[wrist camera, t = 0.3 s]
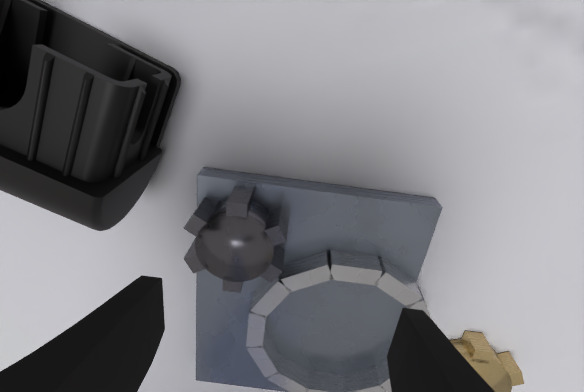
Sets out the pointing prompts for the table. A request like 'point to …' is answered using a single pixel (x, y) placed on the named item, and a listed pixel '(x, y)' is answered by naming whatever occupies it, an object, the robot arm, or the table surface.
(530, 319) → the table surface
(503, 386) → the planet gear
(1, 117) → the end cap
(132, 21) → the table surface
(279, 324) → the carrier plate
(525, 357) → the table surface
